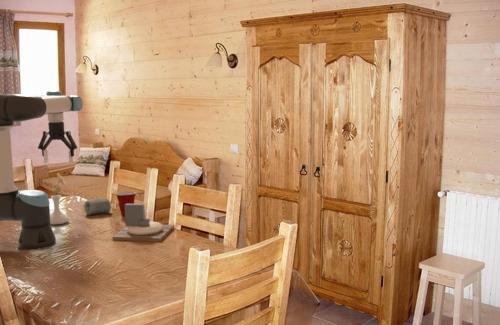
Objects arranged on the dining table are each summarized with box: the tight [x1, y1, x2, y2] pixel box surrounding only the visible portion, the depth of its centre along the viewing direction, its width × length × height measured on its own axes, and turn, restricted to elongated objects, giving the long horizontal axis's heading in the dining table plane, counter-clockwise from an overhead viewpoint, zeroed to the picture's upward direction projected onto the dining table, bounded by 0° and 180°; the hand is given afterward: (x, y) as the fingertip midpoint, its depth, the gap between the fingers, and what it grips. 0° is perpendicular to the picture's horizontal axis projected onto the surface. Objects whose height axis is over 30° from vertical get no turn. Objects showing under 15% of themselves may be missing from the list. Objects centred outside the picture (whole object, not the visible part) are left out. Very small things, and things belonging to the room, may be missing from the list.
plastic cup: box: [115, 191, 137, 217], centre depth 287 cm, size 11×11×12 cm
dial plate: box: [112, 224, 175, 243], centre depth 251 cm, size 22×22×2 cm
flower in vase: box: [50, 172, 70, 225], centre depth 270 cm, size 13×11×25 cm
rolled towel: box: [83, 197, 112, 216], centre depth 289 cm, size 14×10×10 cm
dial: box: [124, 203, 163, 235], centre depth 250 cm, size 16×16×12 cm
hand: (58, 162), depth 282 cm, fingers open, 13 cm apart
